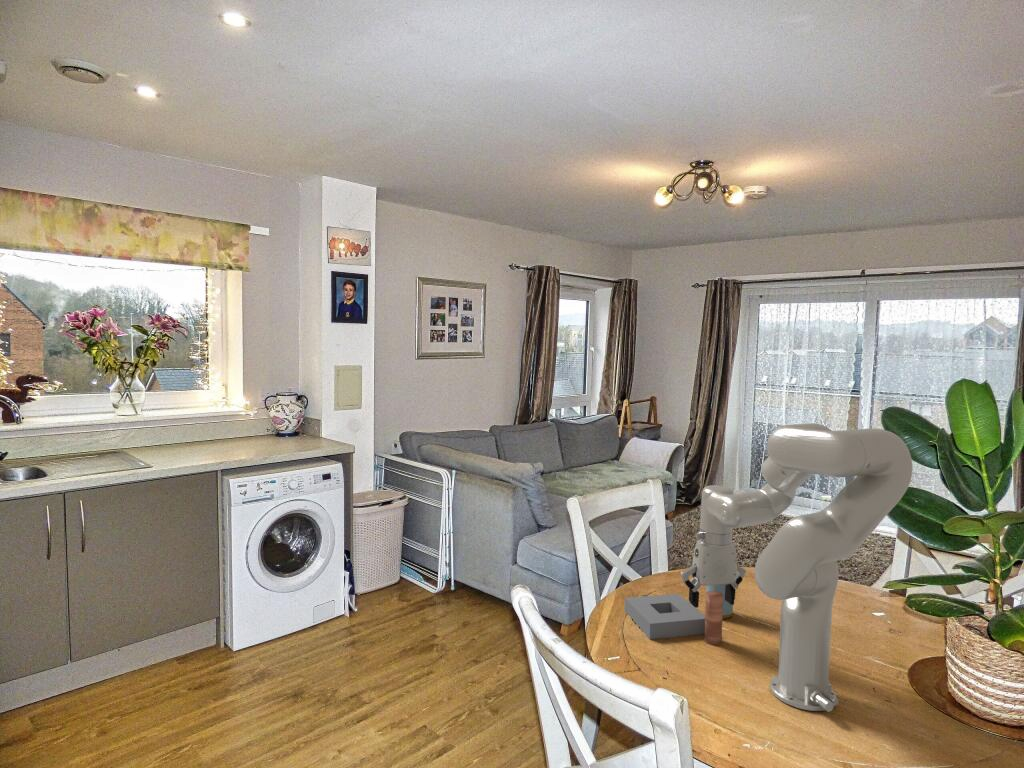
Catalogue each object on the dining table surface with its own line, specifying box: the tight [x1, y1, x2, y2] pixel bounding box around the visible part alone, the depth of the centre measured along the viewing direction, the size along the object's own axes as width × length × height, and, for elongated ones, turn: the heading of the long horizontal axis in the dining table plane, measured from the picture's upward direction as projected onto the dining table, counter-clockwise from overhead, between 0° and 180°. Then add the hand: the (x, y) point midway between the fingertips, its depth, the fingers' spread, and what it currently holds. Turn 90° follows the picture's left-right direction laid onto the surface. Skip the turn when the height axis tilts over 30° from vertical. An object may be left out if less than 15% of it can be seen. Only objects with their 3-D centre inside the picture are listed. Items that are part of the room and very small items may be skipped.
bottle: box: [705, 584, 734, 620], centre depth 167 cm, size 7×7×15 cm
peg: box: [704, 591, 723, 646], centre depth 152 cm, size 4×4×12 cm
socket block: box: [624, 593, 705, 640], centre depth 162 cm, size 16×16×4 cm
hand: (711, 603), depth 152 cm, fingers open, 9 cm apart
